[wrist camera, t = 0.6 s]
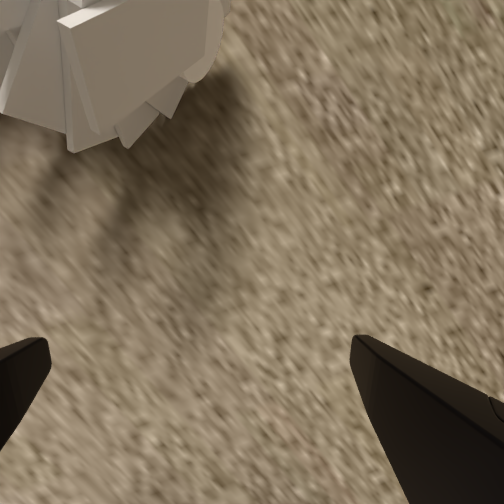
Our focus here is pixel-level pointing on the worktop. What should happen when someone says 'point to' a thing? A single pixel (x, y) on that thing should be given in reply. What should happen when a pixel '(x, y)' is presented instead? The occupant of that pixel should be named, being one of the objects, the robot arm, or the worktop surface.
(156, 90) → the spiral staircase
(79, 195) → the worktop surface
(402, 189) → the worktop surface
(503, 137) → the worktop surface
